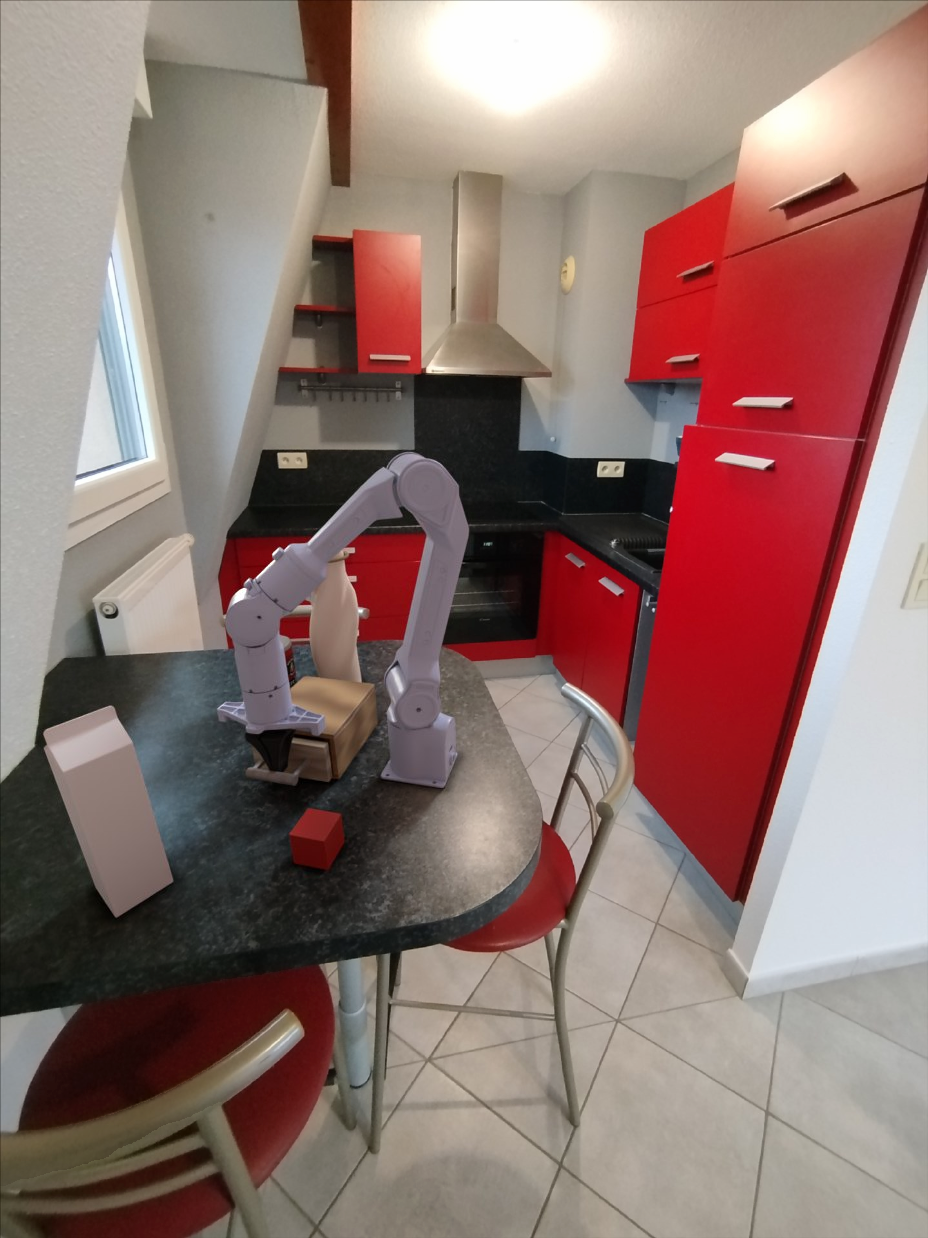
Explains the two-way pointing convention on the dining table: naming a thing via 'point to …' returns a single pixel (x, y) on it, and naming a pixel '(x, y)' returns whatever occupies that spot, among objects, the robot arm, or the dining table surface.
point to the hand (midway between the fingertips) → (279, 770)
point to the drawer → (297, 762)
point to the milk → (109, 807)
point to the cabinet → (339, 714)
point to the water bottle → (335, 624)
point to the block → (317, 838)
